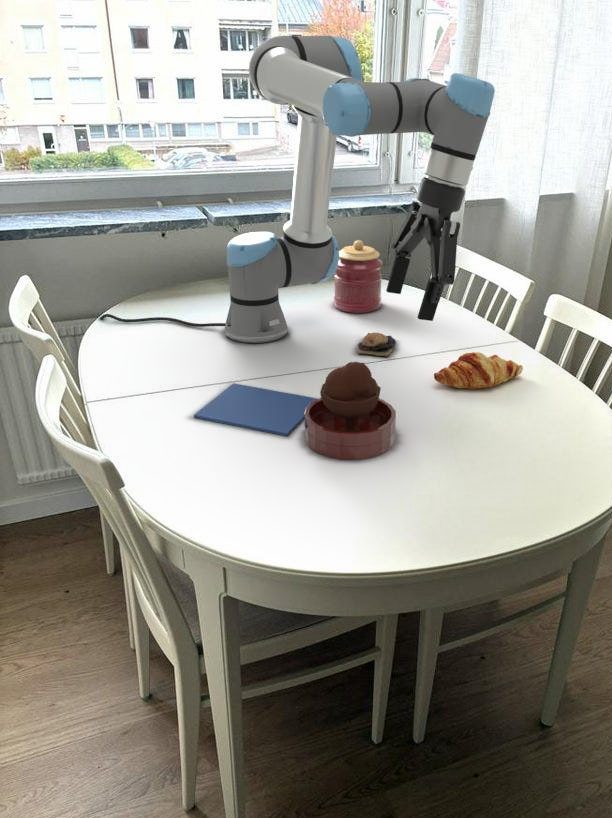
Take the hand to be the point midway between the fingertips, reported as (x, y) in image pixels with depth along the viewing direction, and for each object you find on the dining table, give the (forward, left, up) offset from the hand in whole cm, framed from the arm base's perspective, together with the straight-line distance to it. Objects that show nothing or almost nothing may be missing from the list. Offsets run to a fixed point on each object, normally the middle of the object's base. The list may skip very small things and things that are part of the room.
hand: (408, 305), depth 130 cm
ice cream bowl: (-7, -10, -23) cm, 26 cm away
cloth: (-28, -6, -23) cm, 37 cm away
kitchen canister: (-32, +61, -23) cm, 73 cm away
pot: (-7, -10, -23) cm, 26 cm away
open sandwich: (-17, +34, -23) cm, 45 cm away
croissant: (+10, +24, -23) cm, 35 cm away
